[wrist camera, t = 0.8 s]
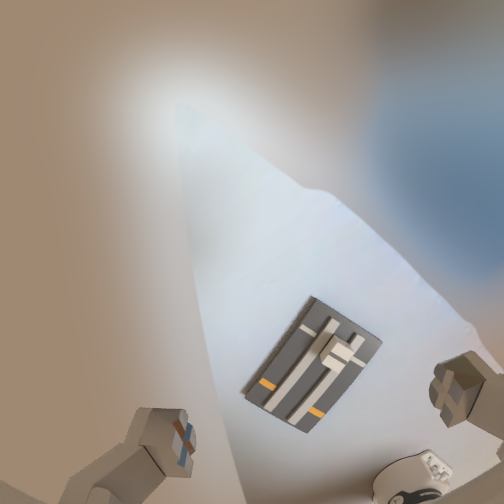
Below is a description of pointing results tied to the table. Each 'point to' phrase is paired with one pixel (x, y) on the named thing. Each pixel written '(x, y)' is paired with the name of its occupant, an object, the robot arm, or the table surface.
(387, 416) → the table surface
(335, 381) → the slider console
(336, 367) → the fader knob
